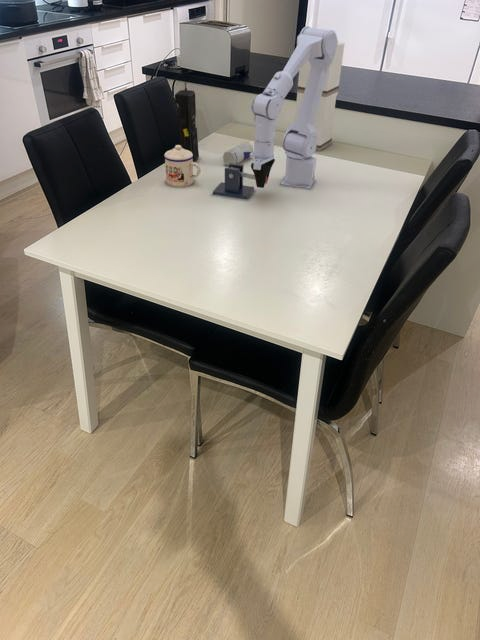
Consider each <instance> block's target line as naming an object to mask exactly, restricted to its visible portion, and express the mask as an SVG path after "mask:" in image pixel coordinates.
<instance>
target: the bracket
mask: <svg viewBox="0 0 480 640" xmlns="http://www.w3.org/2000/svg"><path fill="white" fill-rule="evenodd" d="M231 167H235V168H239V169H240V170H239V169H232V168H231ZM240 172H244V164H240V163H238V164H232V163H230V164H229V166H228V167H224V182H223V181H221V182H220V183H219V184H218V185H217V186H216V187H215V189H214V190H213V191H212V195H214V196H220V197H221V196H222V197H227V198H234V199H242V200H248V199H249V198H250V197H251V195H252V193H253V192H254V191H255V187H254V186H250V185H244V177H241V176H239V175H240Z"/></svg>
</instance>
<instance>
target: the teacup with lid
mask: <svg viewBox="0 0 480 640" xmlns="http://www.w3.org/2000/svg"><path fill="white" fill-rule="evenodd" d="M163 158H164V163H165V165H164V166H165V181H166V184H168V185H169V186H172V187H187V186H189V185H192V184H193V183H194V179H196V178H198V177H199V176H200V174H201V166H200V165H199V163H197V162H196V161H195V162H193V154H192V152H190V151H188V150H185V149H183V148H182V147H181V145H180V144H175V146H174V147H173V148H172V149H169V150H167V151H166V152H165V153H164V155H163ZM194 167H196V170H197V171H196V174H194Z"/></svg>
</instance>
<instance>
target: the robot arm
mask: <svg viewBox="0 0 480 640" xmlns="http://www.w3.org/2000/svg"><path fill="white" fill-rule="evenodd" d="M338 42H339V40H338V36H337V32H336V31H335V30H333V29H325V28H324V29H323V28H316V27H311V26H307V25H306V26H304V27H303V28H302V29H301V31H300V33H299V34H298V35H297V37H296V47H295V49H294V51H293V52H292V54H291V56H290V57H289V59H288V61H287V63H286V64H285V66H284V67H283V70H281V71H277V72H275V74H274V75H273V77H272V78H271V80H269V83H268V84H267V86H266V87H265V88H264V89H263V92H262V93H259V94H258V95H256V96H254V98H253V100H252V104H251V105H250V110H251V113H252V115H253V121H254V137H253V138H254V139H253V142H254V143H253V152H251V153H250V157H249V158H251V157H252V159H253V162H252V163H251V164H250V169H251V170H252V172H253V175H255V185H256V187H257V188H259V189H264V188H265V185H267V184H268V181H269V177H270V173H271V170H272V167H273V165H274V163H275V162H276V159H275V153H274V150H275V135H276V134H275V133H276V118H278V116H280V113H281V111H282V106H283V104H284V99H285V98H286V97H287V95H288V94H289V92H290V91H291V89H292V88H293V86H294V78H295V77H296V75H297V74H299V70H300V69H301V68H302V66H303V65H304V64H305V63H306V61H307V60H309V62H310V64H311V70H310V73H309V77H308V80H307V84H306V88H305V91H304V95H303V98H302V102H301V106H300V109H299V113H298V116H297V120H296V122H295V121H294V122H292V123H290V124H289V125H288V126H287V129H286V131H285V133H284V135H283V137H282V141H281V147H282V150H283V151H284V155H286V159H285V160H286V161H285V172H284V173H285V174H284V178H283V180H282V181H281V182H280V183H281V186H288V187H294V188H295V187H296V188H303V189H311V188H312V186H313V184H314V181H315V175H316V165H317V157H316V156H315V157H314V156H313V155H314V154H315V153H316V147H317V137H318V133H317V132H316V130H315V129H314V127H313V123H314V119H315V116H316V113H317V109H318V106H319V102H320V99H321V95H322V92H323V89H324V85H325V82H326V78H327V75H328V71H329V68H330V65H331V64H332V62H333V59H334V56H335V52H336V49H337V45H338ZM298 132H302V133H305V134H306V135H307V136H306V135H303V134H300V133H298ZM266 176H267V182H266ZM265 182H266V183H265Z"/></svg>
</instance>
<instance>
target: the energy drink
mask: <svg viewBox="0 0 480 640" xmlns="http://www.w3.org/2000/svg"><path fill="white" fill-rule="evenodd" d="M251 152H254V146H253V145H252V144H251V143H249V142H242V143H240V144H239V145H237V146H234V147H232V148H230V149H228V150H226V151H225V152H224V153H223V155H222V159H223V163H224V164H225V165H226V166H228V167H229V164H230V163H232V164H240V163H242V162H244V161H246V160H248V159H249V158H251V157H250V153H251Z"/></svg>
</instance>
